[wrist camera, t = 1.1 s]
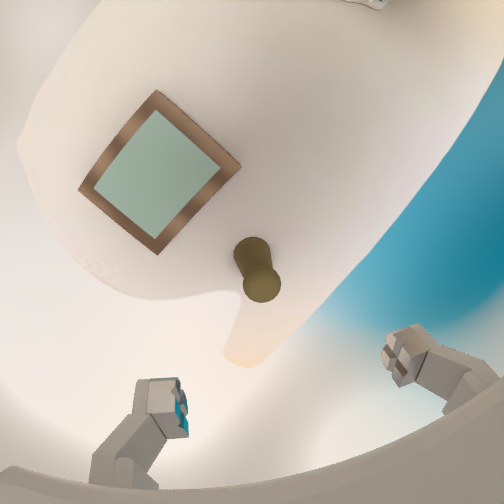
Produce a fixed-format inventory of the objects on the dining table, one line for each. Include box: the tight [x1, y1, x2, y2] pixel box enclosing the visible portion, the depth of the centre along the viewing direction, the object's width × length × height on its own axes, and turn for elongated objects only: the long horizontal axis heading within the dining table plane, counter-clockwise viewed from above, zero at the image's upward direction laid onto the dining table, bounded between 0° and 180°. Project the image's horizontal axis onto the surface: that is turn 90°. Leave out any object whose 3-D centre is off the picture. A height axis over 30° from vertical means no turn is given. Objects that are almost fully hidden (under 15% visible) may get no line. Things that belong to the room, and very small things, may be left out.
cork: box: [234, 237, 281, 303], centre depth 43 cm, size 6×6×11 cm
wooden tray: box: [78, 90, 241, 256], centre depth 38 cm, size 18×16×3 cm
